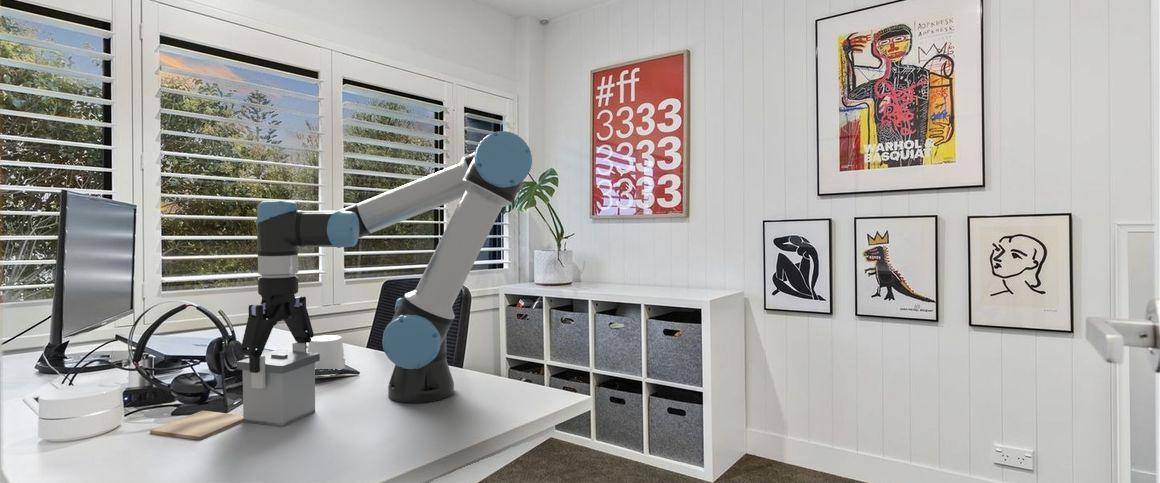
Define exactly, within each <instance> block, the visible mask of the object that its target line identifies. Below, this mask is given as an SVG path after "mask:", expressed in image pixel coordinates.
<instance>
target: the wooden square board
mask: <svg viewBox="0 0 1160 483" xmlns="http://www.w3.org/2000/svg"><path fill="white" fill-rule="evenodd" d="M241 423H245V422H244V419H243V415H242V414H237V413H236V414H235V413H234V414H233V413H228V412H227V413H226V412H225V413H224V412H218V411H210V410H200V411H198V412H195V413H193V414H190V415H187V416H184V417H181V418H179V419H175V420H173V421H171V422H168V423H166V424H165V423H164V424H163V425H160V426H157V427H154V428H153V429H150V430H149V433H150V434H153V435H161V436H169V437H176V438H184V439H192V440H199V441H201V440H203V439H205V438H208V437H210V436H213V435H216V434H218V433H220V432H222V431H224V430H227V429H229V428H232V427H234V426H236V425H239V424H241Z"/></svg>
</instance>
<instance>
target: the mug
mask: <svg viewBox="0 0 1160 483" xmlns="http://www.w3.org/2000/svg"><path fill="white" fill-rule="evenodd" d="M343 346H344V345H343V338H342V335H341V336H340V335H337V334H336V335H335V334H325V335H316V336H313V337H312V338H311V342H309V343H306V349H307V352H310V353H320V361H317V362H315V368H316V369H333V370H335V369H343V368H345V369H346V357H345V353H344V347H343Z"/></svg>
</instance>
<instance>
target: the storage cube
mask: <svg viewBox="0 0 1160 483" xmlns="http://www.w3.org/2000/svg"><path fill="white" fill-rule="evenodd" d="M265 380H266V388H264V389H260V388H252V385H251V372H250V371H248V370H242V403H243V404H242V407H243V409H242V412H243V419H244V422H243V423H249V424H258V425H266V426H274V427H275V426H276V427H286V426H288V425H290V424H292V423H294V422H297V421H299V420H301V419H303V418H305V417H307V416H309V415H311V414H313V413H315V412H316V377H315V363H312V364H309V365H306V366H303V367H301V368H298V369H295V370H292V371H289V372H287V373H284V374H279V373H269V372H265Z"/></svg>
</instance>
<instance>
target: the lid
mask: <svg viewBox="0 0 1160 483" xmlns="http://www.w3.org/2000/svg"><path fill="white" fill-rule="evenodd" d="M262 355H264V356H265V372H269V373H279V374H284V373H287V372H289V371H292V370H295V369H298V368H301V367H303V366H306V365H309V364H312V363H315V362H317V361H320V353H310V352H308V351H307V352H298V351H293V350H288V349H287V350H284V349H274V350H272V351H268V352H265V353H262ZM249 368H250V367H249V357H248V358H244V359H241V360H239V361H238V360H237V361H236V370H240V371H243V370H248V371H250V370H249Z"/></svg>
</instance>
